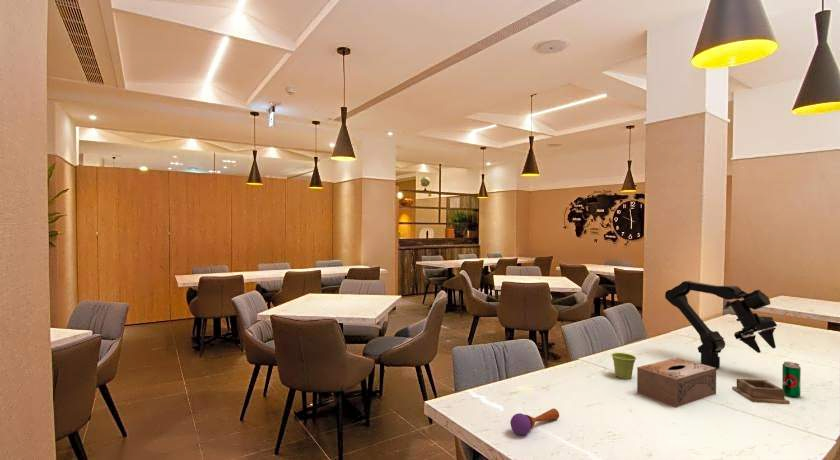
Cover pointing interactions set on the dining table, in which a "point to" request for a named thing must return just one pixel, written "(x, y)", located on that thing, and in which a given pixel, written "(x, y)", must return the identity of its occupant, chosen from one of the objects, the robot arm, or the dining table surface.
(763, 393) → the socket block
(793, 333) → the dining table surface
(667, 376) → the tissue box cover
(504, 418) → the dining table surface
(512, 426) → the kendama
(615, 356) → the plant pot
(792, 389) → the soda can
